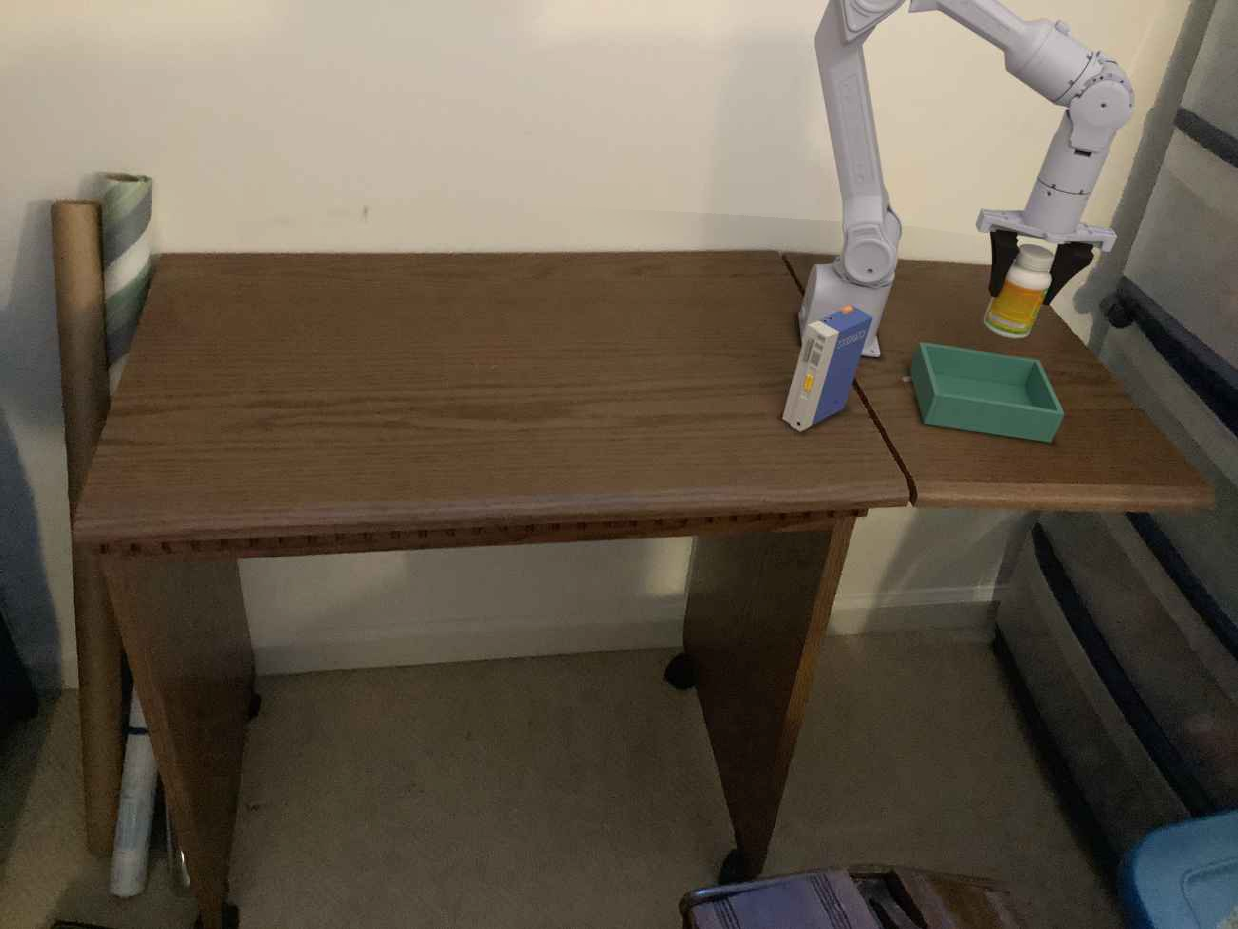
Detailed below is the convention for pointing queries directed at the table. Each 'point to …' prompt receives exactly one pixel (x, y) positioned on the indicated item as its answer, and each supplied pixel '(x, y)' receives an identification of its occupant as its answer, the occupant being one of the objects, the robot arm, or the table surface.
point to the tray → (985, 392)
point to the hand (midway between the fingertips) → (1017, 297)
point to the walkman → (826, 367)
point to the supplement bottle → (1021, 293)
